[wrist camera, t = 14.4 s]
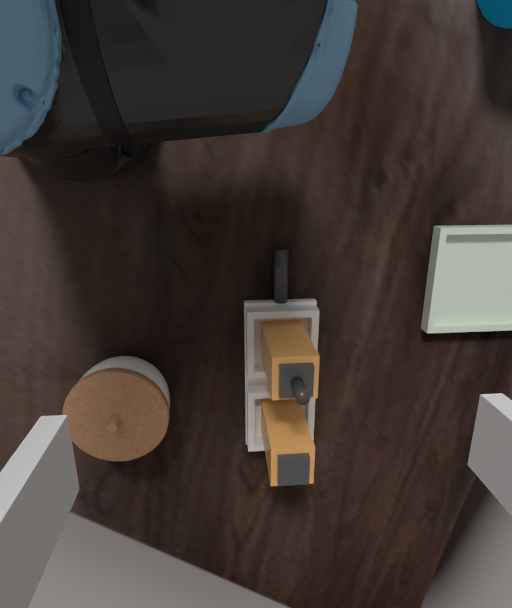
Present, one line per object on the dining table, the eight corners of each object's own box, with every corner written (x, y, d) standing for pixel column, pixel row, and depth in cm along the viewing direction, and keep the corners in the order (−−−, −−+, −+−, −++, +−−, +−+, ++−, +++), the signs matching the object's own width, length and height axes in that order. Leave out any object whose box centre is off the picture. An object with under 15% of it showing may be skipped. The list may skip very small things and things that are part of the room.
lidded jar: (153, 433, 52) (141, 486, 43) (71, 401, 50) (39, 451, 41) (190, 363, 50) (184, 405, 41) (105, 327, 48) (80, 362, 39)
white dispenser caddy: (309, 436, 55) (340, 527, 40) (245, 439, 54) (255, 534, 40) (317, 248, 47) (359, 280, 33) (243, 249, 46) (254, 282, 32)
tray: (420, 328, 51) (427, 333, 50) (433, 225, 47) (440, 227, 46) (516, 325, 52) (525, 329, 51) (537, 224, 48) (547, 226, 47)
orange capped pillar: (261, 429, 52) (271, 491, 42) (261, 398, 51) (272, 454, 41) (296, 427, 53) (315, 488, 42) (297, 396, 51) (316, 451, 41)
